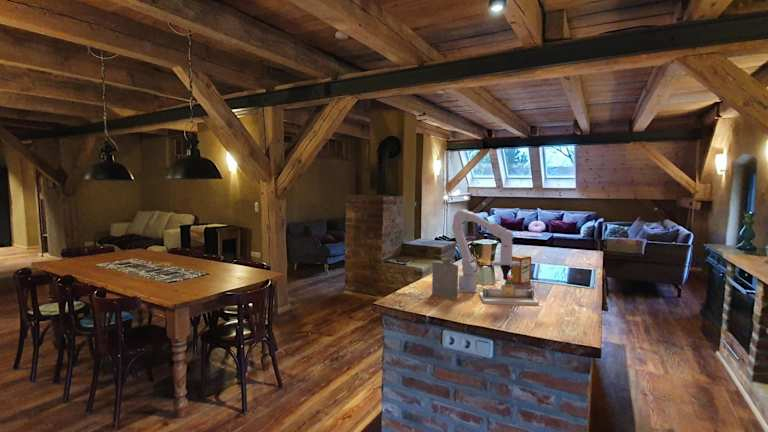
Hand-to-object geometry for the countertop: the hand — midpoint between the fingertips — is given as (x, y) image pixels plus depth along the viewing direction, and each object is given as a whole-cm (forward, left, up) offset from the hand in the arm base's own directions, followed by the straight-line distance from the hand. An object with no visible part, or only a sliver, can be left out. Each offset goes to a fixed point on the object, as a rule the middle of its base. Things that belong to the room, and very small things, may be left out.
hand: (505, 279), depth 201 cm
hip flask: (-31, -6, -9) cm, 33 cm away
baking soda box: (+15, +27, -9) cm, 32 cm away
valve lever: (+1, -3, 0) cm, 4 cm away
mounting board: (0, -8, -8) cm, 12 cm away
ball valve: (0, -8, -8) cm, 12 cm away
